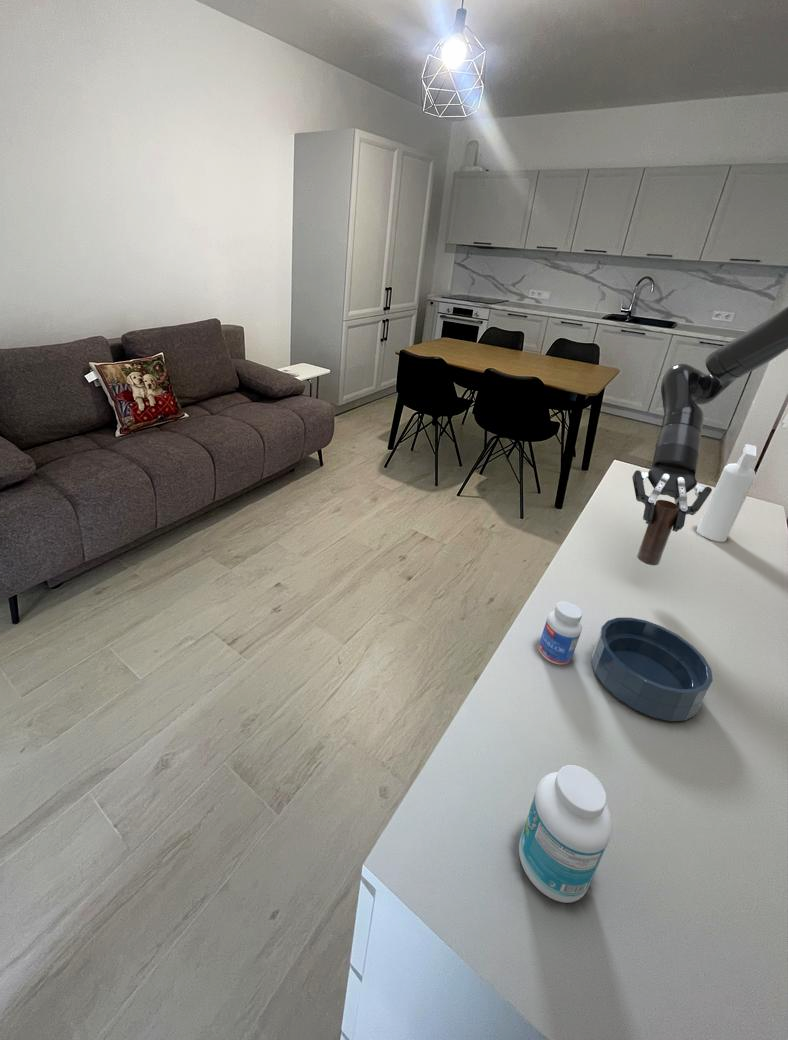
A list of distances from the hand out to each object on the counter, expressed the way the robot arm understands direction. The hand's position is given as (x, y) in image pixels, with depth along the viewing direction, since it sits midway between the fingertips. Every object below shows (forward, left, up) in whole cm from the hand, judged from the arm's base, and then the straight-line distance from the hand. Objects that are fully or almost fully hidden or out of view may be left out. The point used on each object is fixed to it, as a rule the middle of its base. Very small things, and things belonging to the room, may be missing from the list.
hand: (662, 526), depth 97 cm
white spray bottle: (-3, -43, -16) cm, 46 cm away
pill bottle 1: (+3, +31, -16) cm, 35 cm away
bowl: (-9, +25, -16) cm, 31 cm away
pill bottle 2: (-12, +62, -16) cm, 66 cm away
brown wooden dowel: (+1, -2, -9) cm, 9 cm away
